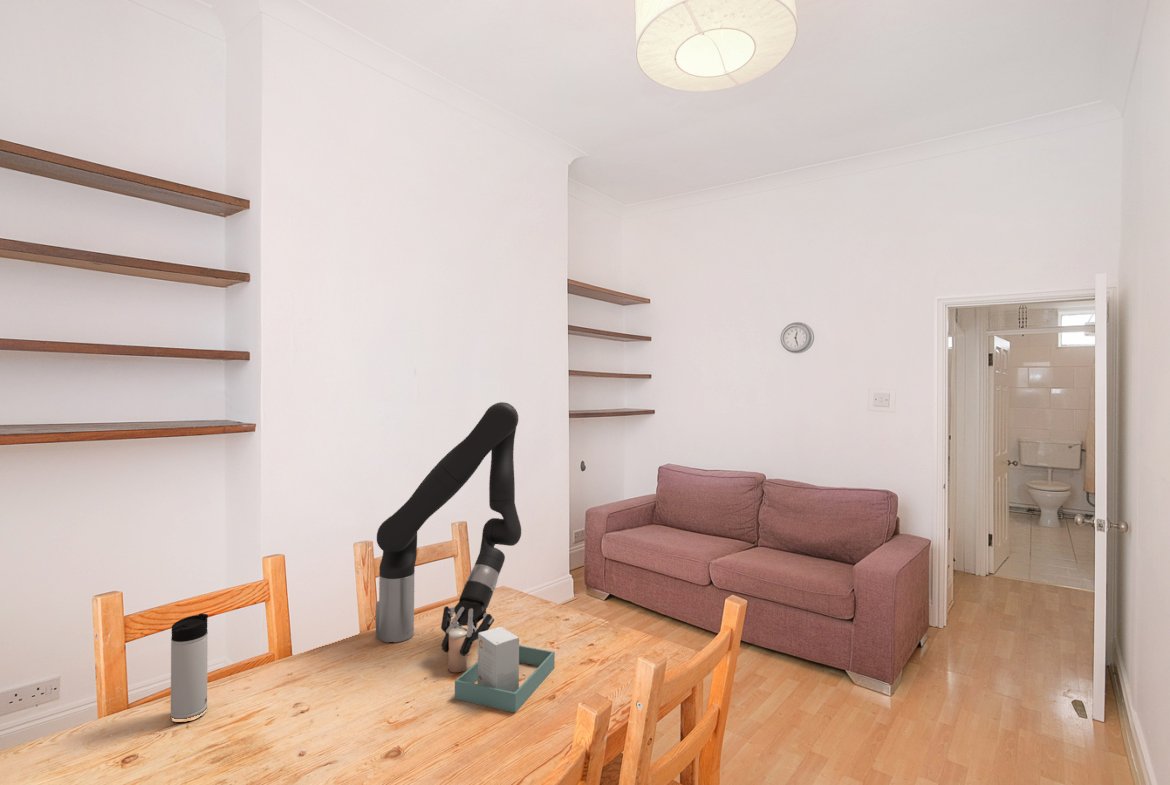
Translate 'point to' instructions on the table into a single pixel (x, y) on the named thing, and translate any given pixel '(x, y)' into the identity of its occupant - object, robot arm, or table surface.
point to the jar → (456, 650)
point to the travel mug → (189, 666)
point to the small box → (498, 659)
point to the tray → (504, 698)
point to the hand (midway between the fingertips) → (453, 652)
